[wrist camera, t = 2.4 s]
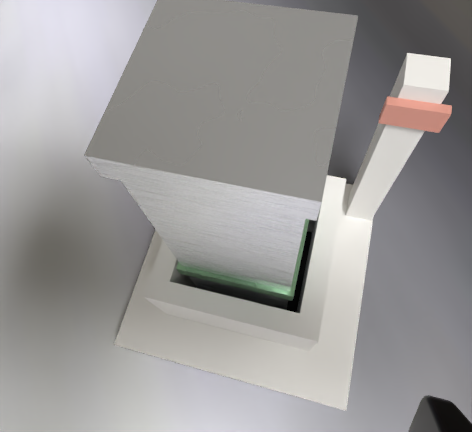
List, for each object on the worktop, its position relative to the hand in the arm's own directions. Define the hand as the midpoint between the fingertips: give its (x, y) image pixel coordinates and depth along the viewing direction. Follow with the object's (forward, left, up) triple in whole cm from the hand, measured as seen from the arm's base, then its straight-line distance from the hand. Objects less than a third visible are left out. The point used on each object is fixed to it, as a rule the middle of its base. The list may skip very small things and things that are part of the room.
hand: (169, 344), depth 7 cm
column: (+4, -3, -11) cm, 12 cm away
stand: (+4, -3, -11) cm, 12 cm away
